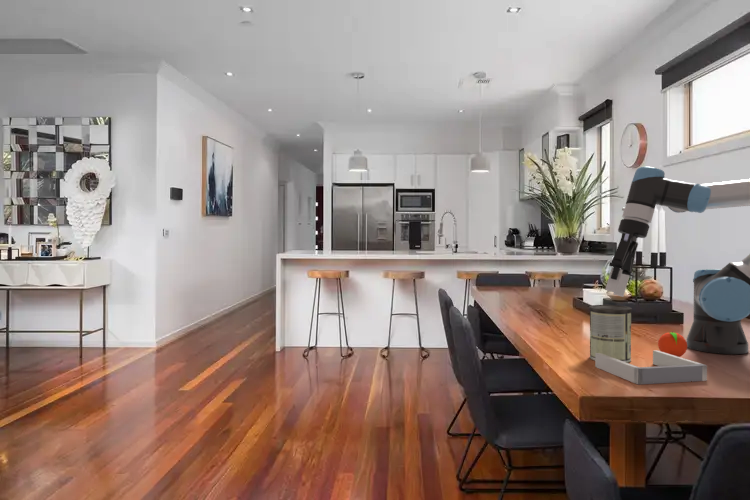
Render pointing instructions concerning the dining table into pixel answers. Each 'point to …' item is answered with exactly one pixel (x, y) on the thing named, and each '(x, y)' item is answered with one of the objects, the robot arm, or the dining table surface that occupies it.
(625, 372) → the bay
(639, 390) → the dining table surface
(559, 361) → the dining table surface
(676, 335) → the tomato
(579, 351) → the dining table surface
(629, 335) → the coffee can
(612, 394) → the dining table surface
